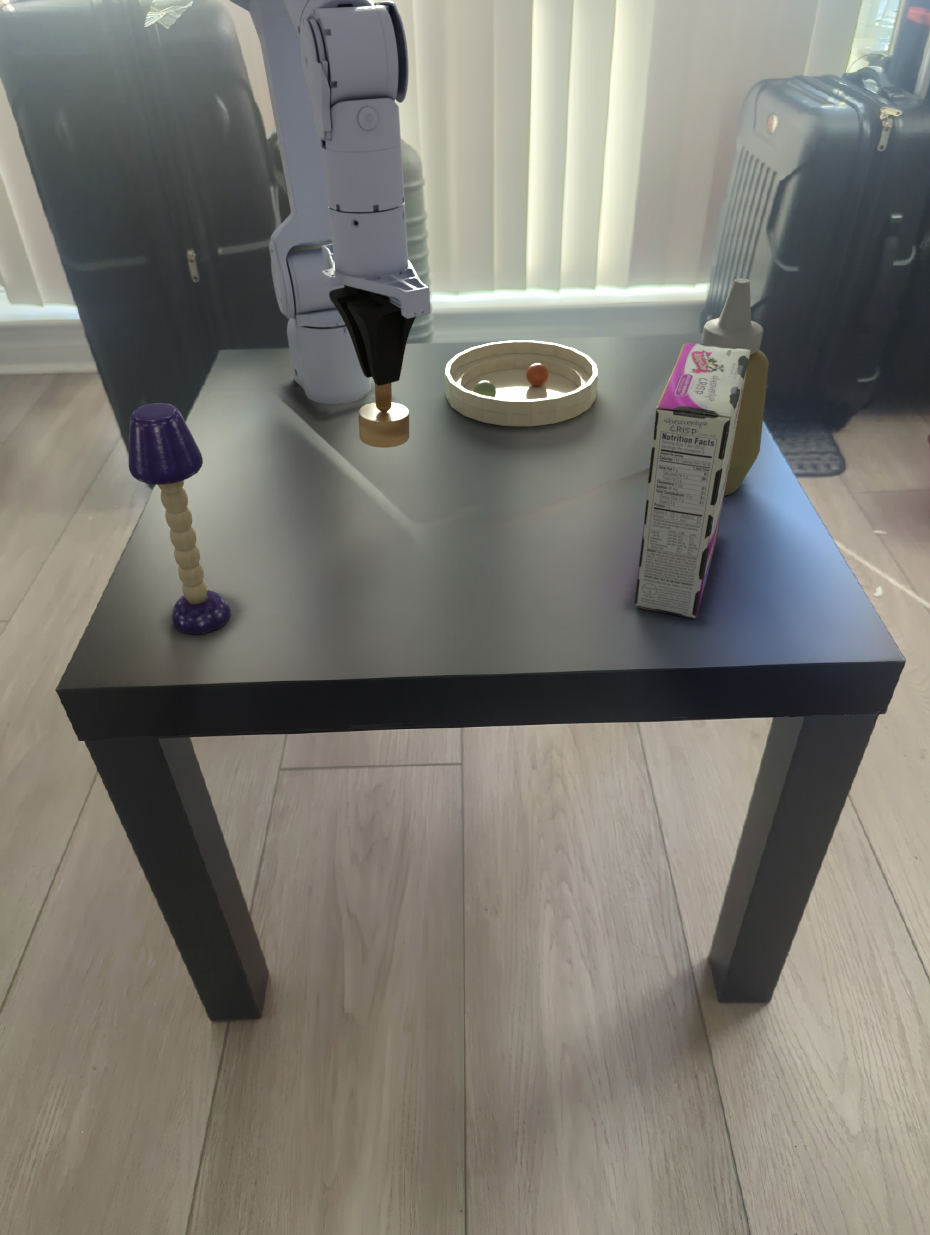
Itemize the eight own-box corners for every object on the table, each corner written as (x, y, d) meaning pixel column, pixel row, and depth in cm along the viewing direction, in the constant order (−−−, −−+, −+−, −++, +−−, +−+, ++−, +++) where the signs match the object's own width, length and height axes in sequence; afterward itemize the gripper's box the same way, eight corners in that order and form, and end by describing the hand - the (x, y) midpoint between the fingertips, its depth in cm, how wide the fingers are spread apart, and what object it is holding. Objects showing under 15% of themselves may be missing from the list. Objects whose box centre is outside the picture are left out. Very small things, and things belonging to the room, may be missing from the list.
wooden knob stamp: (365, 424, 77) (361, 322, 72) (413, 428, 77) (413, 326, 71) (354, 445, 74) (349, 339, 68) (404, 449, 73) (403, 344, 68)
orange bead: (536, 377, 95) (519, 378, 93) (543, 358, 93) (526, 359, 92) (548, 389, 93) (531, 391, 92) (555, 370, 92) (538, 372, 91)
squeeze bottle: (707, 453, 82) (741, 258, 71) (771, 489, 77) (819, 284, 65) (642, 476, 79) (667, 276, 68) (704, 515, 74) (742, 305, 62)
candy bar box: (656, 531, 72) (683, 339, 62) (716, 541, 70) (754, 347, 60) (628, 609, 64) (654, 403, 53) (696, 622, 62) (736, 414, 52)
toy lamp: (229, 591, 67) (180, 389, 56) (246, 625, 63) (197, 417, 53) (167, 610, 65) (105, 405, 54) (181, 645, 62) (117, 434, 51)
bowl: (420, 391, 95) (418, 361, 92) (537, 359, 101) (538, 330, 99) (499, 448, 84) (499, 415, 82) (625, 408, 90) (629, 376, 88)
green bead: (487, 380, 87) (472, 398, 88) (503, 394, 89) (488, 412, 89) (481, 372, 89) (466, 390, 90) (496, 386, 91) (481, 403, 91)
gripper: (278, 193, 67) (303, 361, 75) (362, 234, 57) (379, 421, 66) (359, 180, 70) (374, 343, 78) (451, 217, 60) (457, 399, 68)
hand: (381, 378), depth 72 cm, fingers closed on wooden knob stamp
